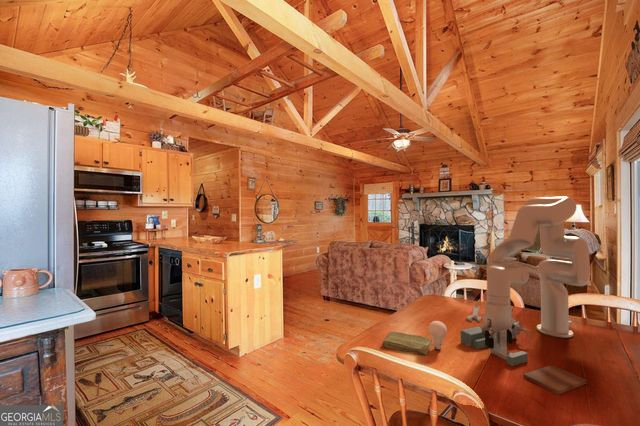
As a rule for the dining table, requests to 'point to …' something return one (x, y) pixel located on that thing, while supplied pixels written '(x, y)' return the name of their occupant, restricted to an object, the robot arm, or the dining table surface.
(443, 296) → the dining table surface
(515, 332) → the grey monster figurine
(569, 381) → the walnut board
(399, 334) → the washcloth
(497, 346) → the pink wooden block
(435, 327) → the light bulb
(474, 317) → the adjustable wrench
